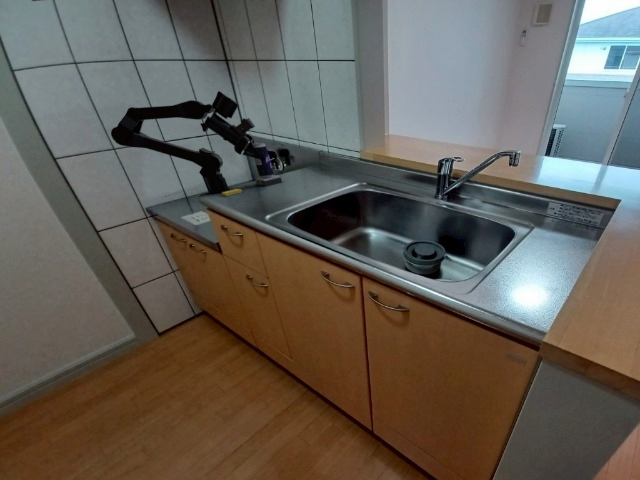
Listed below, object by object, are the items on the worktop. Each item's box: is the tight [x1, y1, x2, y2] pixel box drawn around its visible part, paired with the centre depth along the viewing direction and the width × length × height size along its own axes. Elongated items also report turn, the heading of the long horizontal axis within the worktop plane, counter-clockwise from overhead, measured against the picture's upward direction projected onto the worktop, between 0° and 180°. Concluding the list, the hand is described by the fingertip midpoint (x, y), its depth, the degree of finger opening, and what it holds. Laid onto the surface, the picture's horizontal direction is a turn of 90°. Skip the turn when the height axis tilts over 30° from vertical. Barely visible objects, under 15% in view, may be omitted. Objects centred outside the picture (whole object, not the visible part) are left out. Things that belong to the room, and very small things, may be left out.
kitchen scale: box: [255, 174, 283, 187], centre depth 129 cm, size 7×7×2 cm
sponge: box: [221, 188, 243, 197], centre depth 119 cm, size 6×4×1 cm, turn 136°
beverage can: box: [253, 142, 275, 178], centre depth 125 cm, size 6×6×12 cm
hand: (265, 158), depth 125 cm, fingers closed on beverage can, 5 cm apart
